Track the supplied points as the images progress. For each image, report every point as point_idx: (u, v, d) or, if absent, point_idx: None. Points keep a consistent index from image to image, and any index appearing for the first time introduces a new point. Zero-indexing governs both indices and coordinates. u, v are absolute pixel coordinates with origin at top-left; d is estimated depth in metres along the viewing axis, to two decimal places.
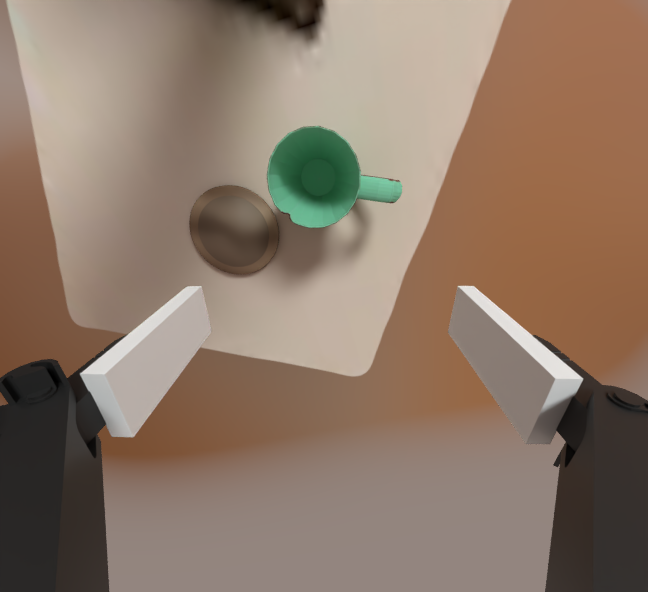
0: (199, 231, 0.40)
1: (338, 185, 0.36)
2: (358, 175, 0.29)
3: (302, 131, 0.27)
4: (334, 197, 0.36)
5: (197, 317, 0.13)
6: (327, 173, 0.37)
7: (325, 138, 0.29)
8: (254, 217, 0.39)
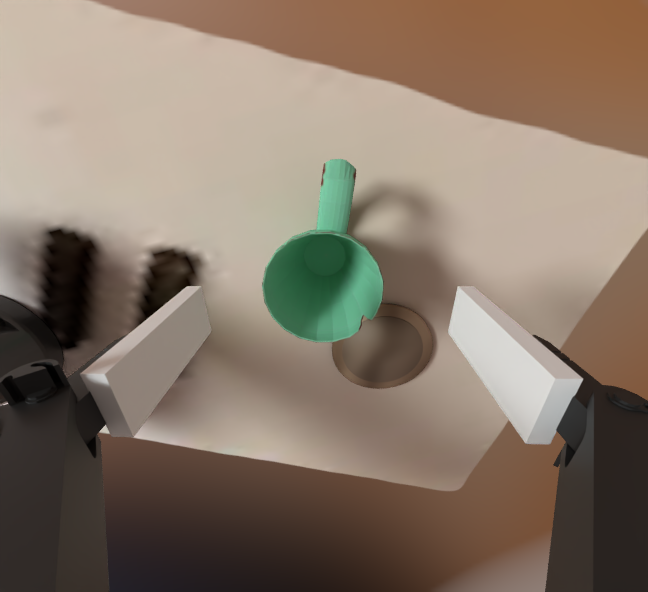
0: (377, 381, 0.37)
1: (332, 235, 0.28)
2: None
3: (270, 298, 0.23)
4: (347, 242, 0.27)
5: (197, 317, 0.13)
6: (320, 245, 0.30)
7: (278, 265, 0.24)
8: (366, 329, 0.34)
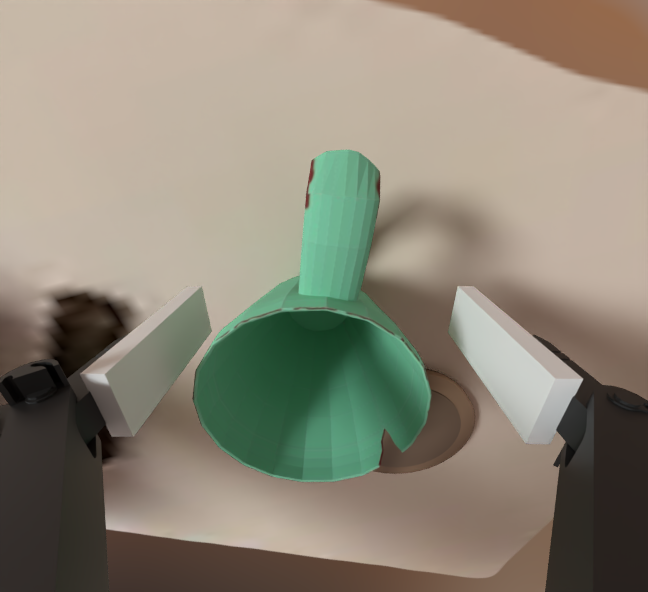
0: (393, 466, 0.27)
1: None
2: None
3: (217, 408, 0.13)
4: None
5: (197, 317, 0.13)
6: None
7: (234, 341, 0.14)
8: None
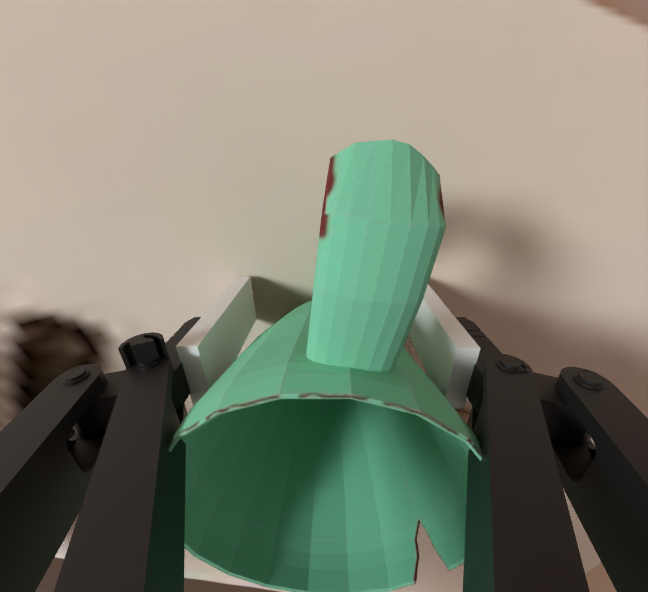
0: None
1: None
2: None
3: (193, 497, 0.09)
4: None
5: (248, 304, 0.15)
6: None
7: None
8: None
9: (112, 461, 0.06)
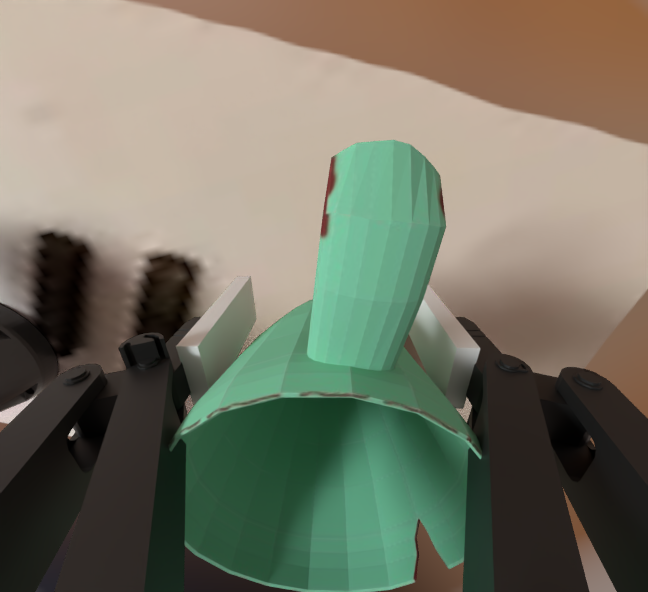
0: None
1: None
2: None
3: (194, 495, 0.09)
4: None
5: (248, 304, 0.15)
6: None
7: None
8: None
9: (112, 461, 0.06)
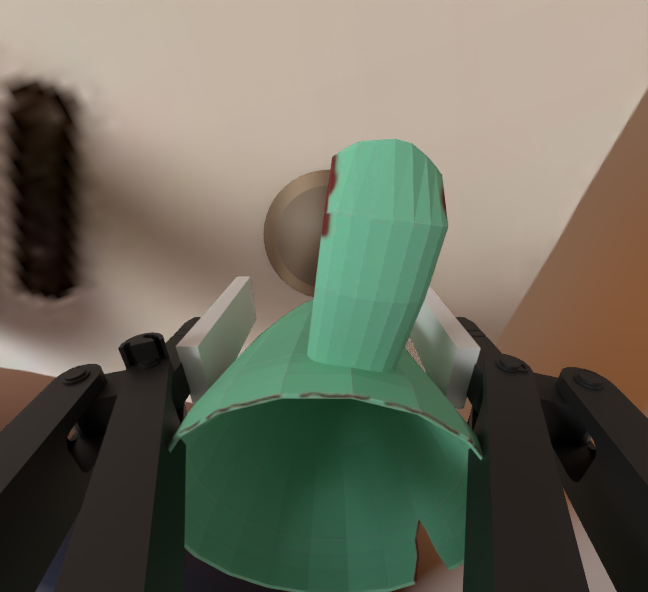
0: None
1: None
2: None
3: (193, 496, 0.09)
4: None
5: (248, 304, 0.15)
6: None
7: None
8: (304, 206, 0.26)
9: (112, 461, 0.06)
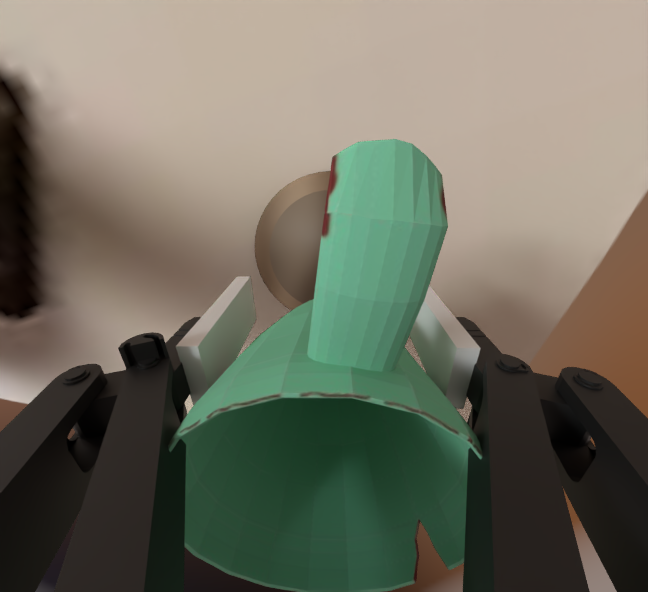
0: None
1: None
2: None
3: (193, 496, 0.09)
4: None
5: (248, 304, 0.15)
6: None
7: None
8: (302, 214, 0.22)
9: (112, 461, 0.06)
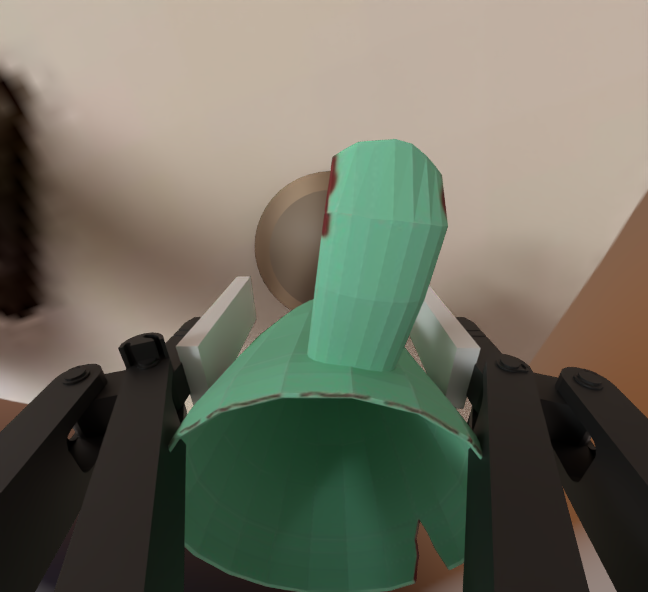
0: None
1: None
2: None
3: (193, 496, 0.09)
4: None
5: (248, 304, 0.15)
6: None
7: None
8: (302, 214, 0.22)
9: (112, 461, 0.06)
